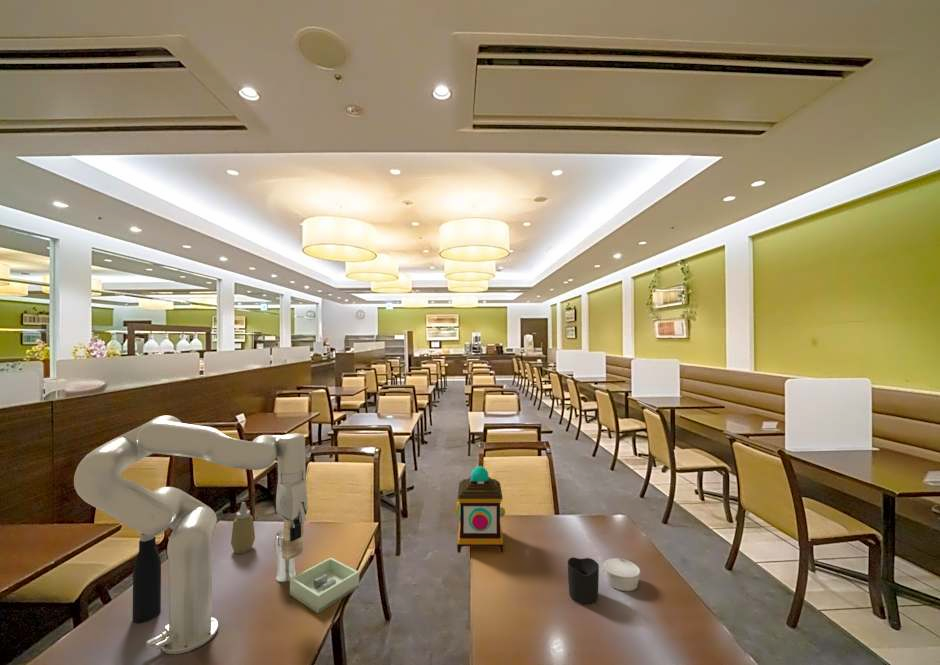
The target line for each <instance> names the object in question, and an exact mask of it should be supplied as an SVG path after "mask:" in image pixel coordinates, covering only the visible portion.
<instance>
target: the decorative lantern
mask: <svg viewBox="0 0 940 665" xmlns="http://www.w3.org/2000/svg"><path fill="white" fill-rule="evenodd" d="M502 502H503V492H502V486H501V482H500V481H499V480H497V479H494V478H491V477H490V476H489V472H488V470H487V469H486V468H485V467H484V466H482V465H477V466H476V467H475V468H474V469H473V470H472V471H471V473H470V476H469V477H468V478H467V479H466V478H464V479H462V480H460V482H459V483H458V492H457V501H456V504H455V506H454V513H455V515H456V516H459V519H460V520H459V522H458V523H459V524H458V532H457V542H456V543H457V544H456V550H457V553H458V554H461V552H462V547H463V548H464V547H498V549H499V551H498V552H499V553H500V554H502V553H504V540H503V532H502V525H501V524H502V523H501V518H502V517H504V516H505V514H506V509H505V508H504V507H501V503H502Z"/></svg>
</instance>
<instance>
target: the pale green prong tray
mask: <svg viewBox="0 0 940 665" xmlns="http://www.w3.org/2000/svg"><path fill="white" fill-rule="evenodd" d="M324 574H326V575H327V582H329V581H330V580H332V579H335V580H336V584H335V585H333V586H331V587H329V588H328V589H326V590H324V591H323V585H322V586H321V587H319V588H317V589H315V588H314V580H315V579H316V578H318V577H320V576H322V575H324ZM359 588H360V571H358V570H357V569H354V568H352V567H351V566H348V565H346V564H345V563H343V562H340V561H339V560H337V559H335V558H333V557H329V558H327V559H325V560H322V561H320V562H318V563H317V564H316V565H314V566H311V567H310V568H307V569H306V570H305V569H304V571H302V572H300V573H298V574H296V576H294V577H292V578H290V580H289V595H290V596H291V597H293V598H294V599H295V600H297V601H299V602H300V603H302V604H303V605H305V606H307V607H308V609H309V608H310V609H311V610H312V611H314V612H316V614H319V613H321V612H322V611H324V610H326V609H327V608H329V607H331V606H333V604H335V603H336V602H338V601H340V600H341V599H343V598H344V597H346V596H348V595H349V594H351V593H353V592H354V591H356V590H358V589H359Z"/></svg>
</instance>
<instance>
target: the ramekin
mask: <svg viewBox="0 0 940 665" xmlns="http://www.w3.org/2000/svg"><path fill="white" fill-rule="evenodd" d="M603 569H604V570H603V571H604V572H605V579H606V581H607V583H608V584H609V586H611V587H612V588H613V587H614V589H615V588H616V589H615V590H618V591H621V592H632V591H634V590H636V589H637V587H638V585H639V580H640V577H641V569H640V567H639V566H638V565H637V564H635V563H634V562H631V561H629V560H628V559H623V558H618V557H617V558H616V557H614V558H608V559H607V560H605V561H604V563H603Z"/></svg>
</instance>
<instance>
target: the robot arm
mask: <svg viewBox="0 0 940 665" xmlns="http://www.w3.org/2000/svg"><path fill="white" fill-rule="evenodd" d="M305 438H306V436H304V434H303V433H299V432H295V433H286V434H283V435H282V434H281V435H280V434H262V435H258V436H257V437H254V439H252V441H251V440H249V441H248V440H244V439H239V438H233V437H230V436H228V435H226V434H224V433H222V432H221V431H220V430H219V429H217V428H215V427H212V426H206V425H200V424H191V423H186V422H185V423H184V422H182V421H181V420H180V419H179V417H178V418H177V417H175V416H173V415H167V414H166V415H165V414H164V415H160V416H157V417H154V418H152V419H151V420H149V421H148V422H146V423H144V424H142V425H139V426H137V427H135V428H133V429H132V430H129V431H127V432H125V433H123V434H121V435H119V436H117V437H115V438H113V439H111V440H109V441H107V442H105V443H103V444H102V445H100V446H98V447H96V448H95V449H92V451H90V452H89V453H87V454H86V455H85V456H84V457H83V458H82V459H81V461H80V462H79V463H78V465H77V467H76V470H75V472H74V475H73V476H74V478H73V485H74V486H73V487H74V490H75V491H76V494H77V495H78V496H79V498H81V499H82V500H83V502H85V503H87V504H88V505H91V507H94V508H96V509H98V510H100V511H102V512H104V513H106V514H108V515H109V516H111V517H112V518H114V519H116V520H117V521H120V522H121V523H122V524H125V525H126V526H128V527H130V528H132V529H133V530H135V531H137V532H139V533H140V534H141V533H143V534H145V535H150V536H152V535H155V536H157V535H160V534H162V533H163V532H165V531H167V530H168V529H170V530H172V532H171V533H170V536H169V539H168V543H167V547H166V554H167V561H168V562H167V563H168V587H169V588H168V600H169V601H168V624H167V625H165V626H164V631H163V632H162V631H161V633H160V634H159V635H157V636H155V637H154V636H153V637H152V638H150V639H148V640H145V647H146V649H147V650H149V649H151V648H154V647H155V650H156V651H157V650H160V649H161V650H162V652H163V653H166V654H168V655H169V654H170V655H178V654H184V653H188V652H191V651H193V650H197V648H200V647H201V646H203V645H205V644H207V643H208V642H209V641H210V640H211V639H212V638H213V637H214V636H215V635H216V633H217V632H218V629H219V622H218V620H217V619H216V618H214V617H213V616H212V614H213V612H212V607H213V606H212V605H213V604H212V601H213V600H212V599H213V598H212V596H213V594H212V593H213V590H212V589H213V588H212V587H213V586H212V585H213V582H212V580H213V577H212V576H213V570H212V569H213V567H212V566H213V562H212V561H213V560H212V538H213V535H214V532H215V529H216V526H217V523H218V522H217V521H218V519H217V518H218V517H217V515H216V512H215V511H214V510H213V509H212V508H211V507H210V506H209V505H207V504H205V503H203V502H202V501H201V500H200V499H197V498H195V497H193V496H192V495H190V494H188V492H185V491H183V490H182V489H181V488H177V487H173V486H163V487H159V488H156V489H154V490H153V491H152V490H150V489H149V488H147V487H145V486H143V485H142V484H141V483H139V482H137V481H134V480H131V479H127V478H125V477H123V475H122V473H123V472H124V471H125V470H127V469H128V468H129V467H131V466H132V465H133V464H136V463H137V462H139V461H141V460H143V459H145V458H146V457H148V456H150V455H152V454H159V455H160V454H161V455H167V456H168V455H169V456H176V457H184V458H185V457H187V458H195V459H201V460H205V461H206V462H209V463H214V464H217V465H220V466H222V467H223V466H224V467H228V468H233V469H243V470H249V471H250V470H251V471H258V470H259V471H261V470H266V469H267V468H268V467H271V465H273V464H274V462H275V460H276V459H277V475H278V476H277V485H276V497H275V512H276V513H277V514H278V515H280V516H282V518H283V520H284V519H287V518H288V519H291V528H290V541H294V540H297V539H299V538H301V525H302V522H304V523H305V522H307V517H306V514H308V508H309V506H308V491H307V484H306V479H307V478H306V474H307V472H306V471H307V470H306V439H305ZM296 518H298V519H297V520H296V521H295V519H296Z"/></svg>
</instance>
